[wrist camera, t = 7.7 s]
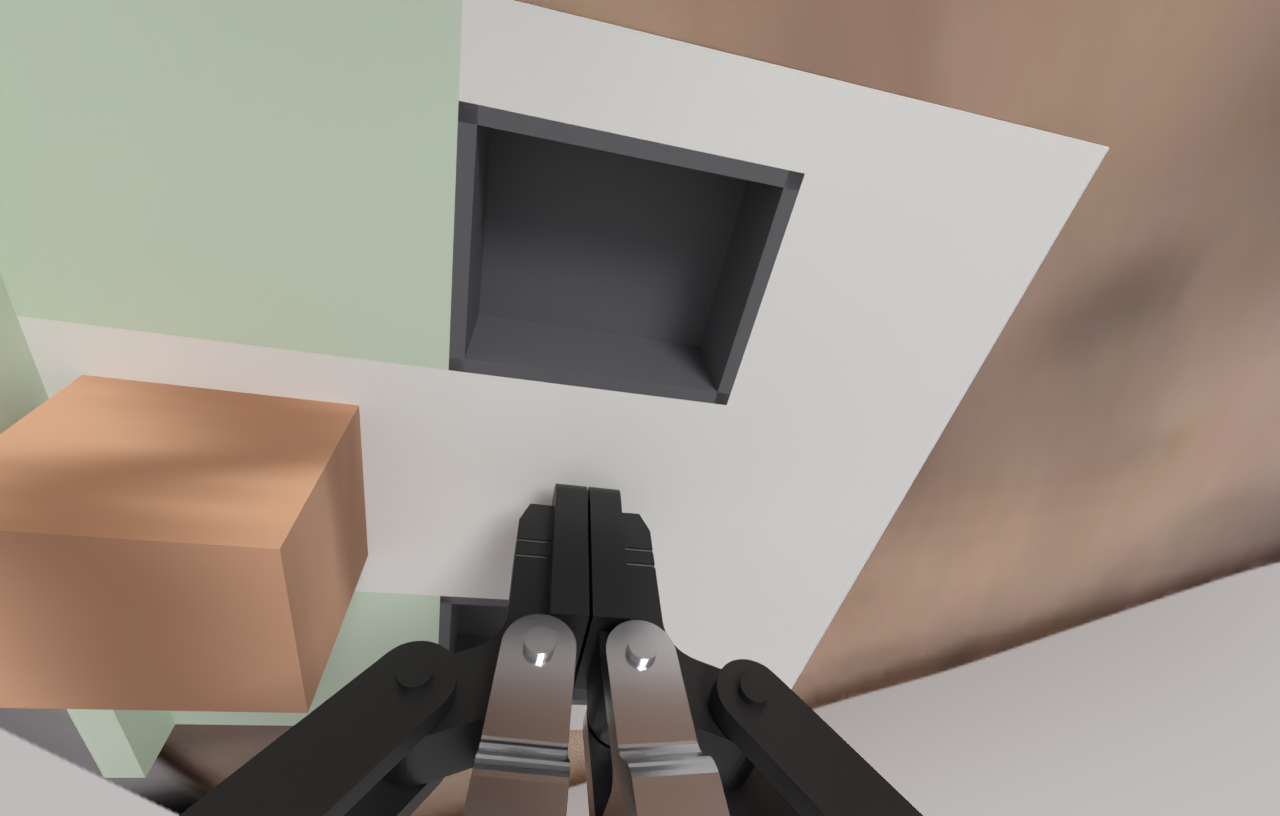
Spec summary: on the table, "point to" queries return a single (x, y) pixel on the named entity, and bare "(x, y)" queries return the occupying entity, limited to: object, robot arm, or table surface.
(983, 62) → the table surface
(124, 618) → the block
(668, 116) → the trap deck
